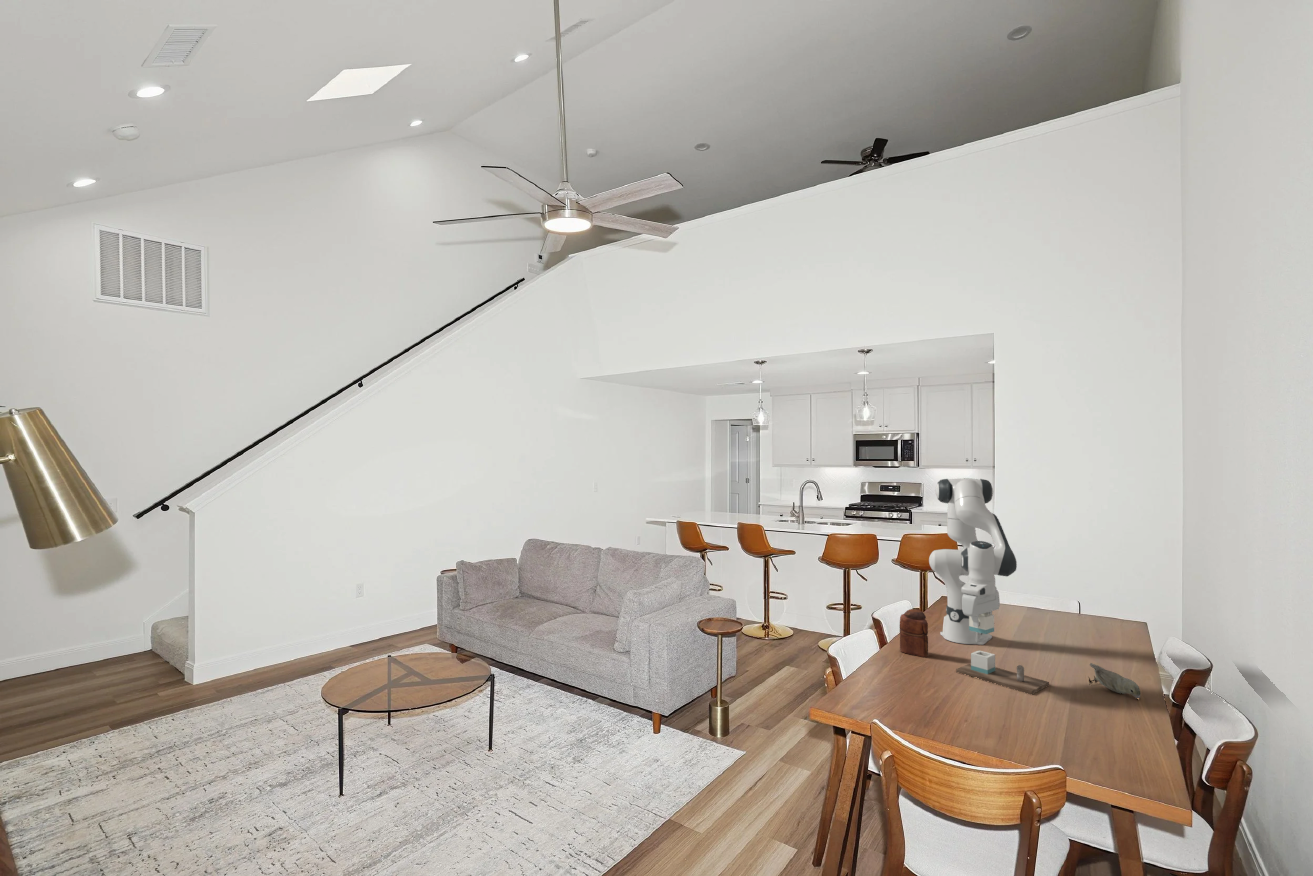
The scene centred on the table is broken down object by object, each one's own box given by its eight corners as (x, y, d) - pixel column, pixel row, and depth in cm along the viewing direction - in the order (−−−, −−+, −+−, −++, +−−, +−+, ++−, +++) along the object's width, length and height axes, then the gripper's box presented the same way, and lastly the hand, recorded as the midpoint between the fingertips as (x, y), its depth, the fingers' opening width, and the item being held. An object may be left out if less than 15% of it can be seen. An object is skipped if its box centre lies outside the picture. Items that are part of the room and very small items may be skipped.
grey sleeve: (978, 666, 235) (978, 650, 235) (995, 670, 230) (995, 654, 230) (971, 669, 231) (970, 653, 231) (987, 674, 226) (987, 657, 226)
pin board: (974, 664, 240) (974, 647, 240) (1049, 685, 219) (1048, 666, 219) (956, 672, 232) (956, 654, 232) (1031, 694, 211) (1031, 675, 211)
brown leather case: (931, 654, 251) (931, 610, 251) (926, 658, 246) (926, 613, 247) (902, 648, 259) (902, 605, 259) (896, 652, 254) (896, 608, 254)
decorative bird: (1134, 702, 205) (1133, 679, 205) (1085, 685, 220) (1085, 664, 220) (1144, 700, 207) (1144, 677, 207) (1095, 683, 222) (1095, 662, 222)
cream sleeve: (977, 627, 230) (977, 611, 230) (994, 631, 225) (994, 614, 226) (969, 630, 227) (969, 613, 227) (985, 634, 222) (985, 617, 222)
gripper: (987, 581, 235) (987, 618, 235) (958, 588, 223) (958, 627, 223) (1004, 584, 230) (1004, 622, 230) (976, 592, 218) (976, 631, 218)
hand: (981, 624), depth 226 cm, fingers closed on cream sleeve, 6 cm apart
